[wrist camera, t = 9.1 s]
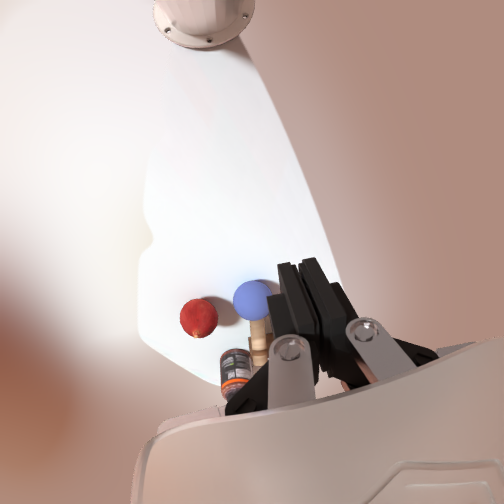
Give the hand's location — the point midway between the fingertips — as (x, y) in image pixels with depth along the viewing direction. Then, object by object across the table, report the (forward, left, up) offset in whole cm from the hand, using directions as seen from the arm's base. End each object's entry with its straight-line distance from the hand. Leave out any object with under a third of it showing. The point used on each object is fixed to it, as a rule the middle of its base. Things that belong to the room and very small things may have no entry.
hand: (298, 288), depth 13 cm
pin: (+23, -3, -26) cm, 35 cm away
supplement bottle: (+35, -8, -27) cm, 45 cm away
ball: (+19, -3, -24) cm, 31 cm away
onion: (+20, -11, -27) cm, 36 cm away
